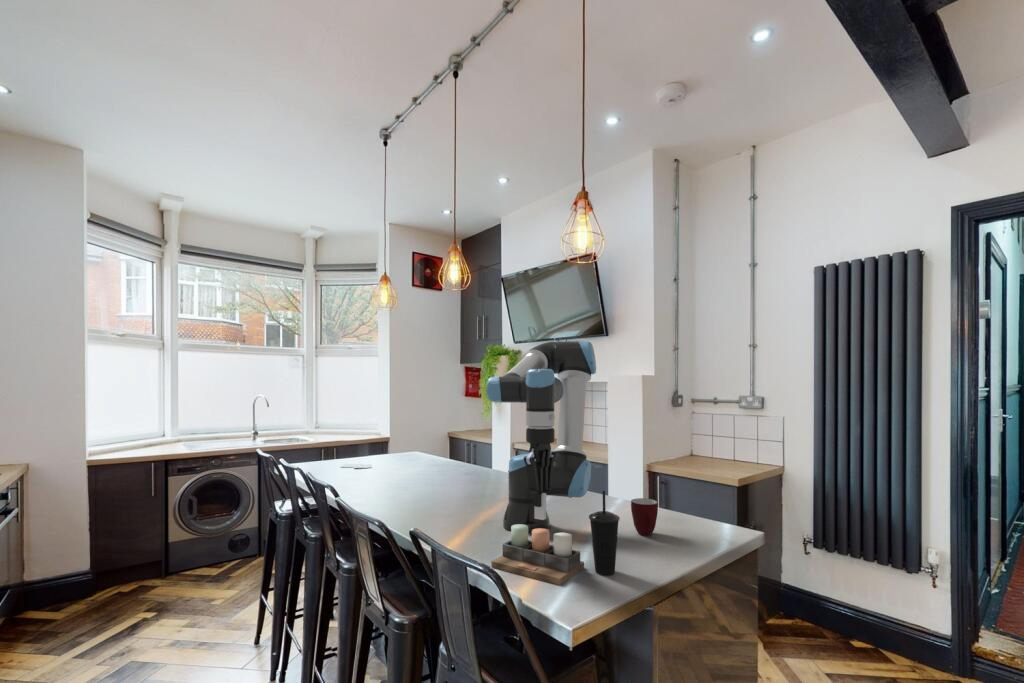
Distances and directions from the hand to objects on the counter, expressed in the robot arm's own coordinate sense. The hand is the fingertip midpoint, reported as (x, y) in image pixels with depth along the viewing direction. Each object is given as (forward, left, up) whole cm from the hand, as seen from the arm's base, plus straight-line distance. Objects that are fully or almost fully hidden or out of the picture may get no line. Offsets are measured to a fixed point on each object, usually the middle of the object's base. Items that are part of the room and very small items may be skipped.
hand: (540, 518), depth 131 cm
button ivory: (+6, 0, -8) cm, 10 cm away
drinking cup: (+15, +6, -12) cm, 20 cm away
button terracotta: (0, 0, -8) cm, 8 cm away
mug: (+14, +40, -12) cm, 44 cm away
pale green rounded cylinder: (-7, 0, -8) cm, 11 cm away
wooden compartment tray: (0, -1, -12) cm, 12 cm away
